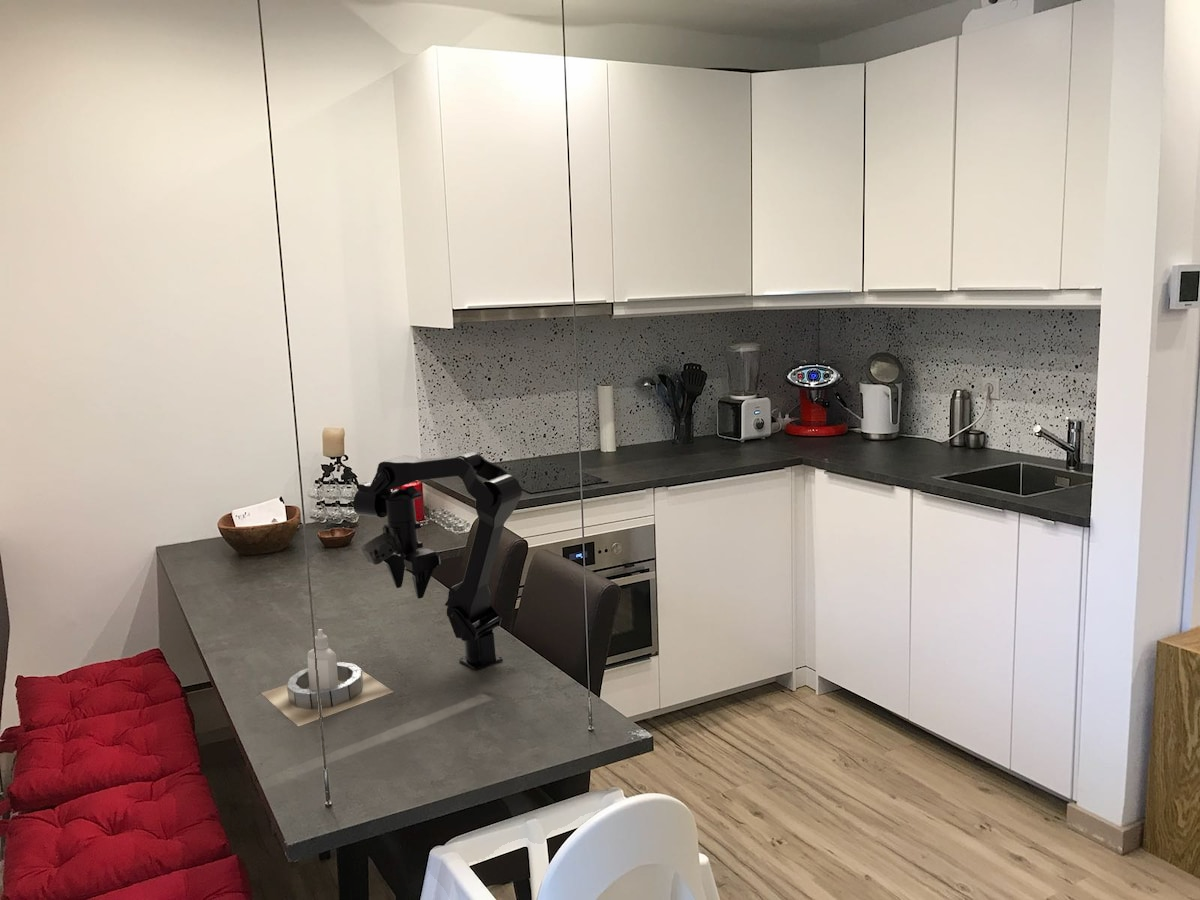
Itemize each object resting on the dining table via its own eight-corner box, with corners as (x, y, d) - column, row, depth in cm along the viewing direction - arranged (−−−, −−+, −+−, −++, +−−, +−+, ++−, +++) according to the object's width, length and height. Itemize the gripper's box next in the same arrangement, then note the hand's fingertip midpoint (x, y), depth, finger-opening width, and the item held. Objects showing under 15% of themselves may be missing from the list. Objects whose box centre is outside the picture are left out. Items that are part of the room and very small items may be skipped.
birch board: (394, 697, 173) (393, 691, 172) (299, 732, 162) (298, 726, 161) (352, 668, 186) (351, 663, 186) (261, 699, 175) (260, 693, 175)
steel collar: (374, 691, 173) (372, 676, 172) (306, 716, 165) (304, 700, 164) (344, 670, 183) (343, 656, 182) (279, 693, 175) (277, 678, 174)
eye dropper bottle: (316, 700, 170) (312, 636, 168) (307, 690, 175) (303, 627, 173) (340, 694, 173) (336, 631, 171) (331, 684, 177) (327, 623, 175)
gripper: (344, 519, 192) (353, 592, 195) (386, 537, 177) (394, 615, 180) (394, 508, 198) (401, 578, 202) (438, 524, 184) (445, 599, 187)
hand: (409, 592), depth 193 cm, fingers open, 9 cm apart
